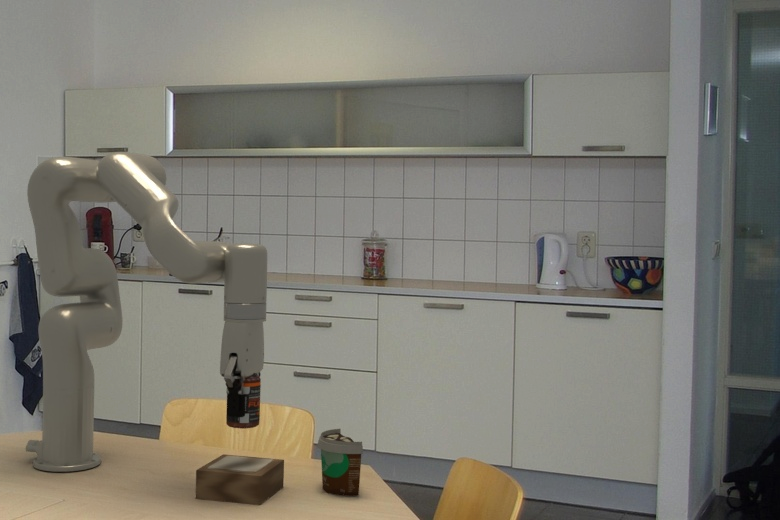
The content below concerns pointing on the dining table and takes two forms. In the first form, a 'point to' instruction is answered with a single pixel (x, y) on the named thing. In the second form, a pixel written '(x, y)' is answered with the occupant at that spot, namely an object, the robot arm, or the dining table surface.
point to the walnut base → (240, 479)
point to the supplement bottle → (248, 404)
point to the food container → (340, 463)
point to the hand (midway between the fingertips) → (243, 411)
